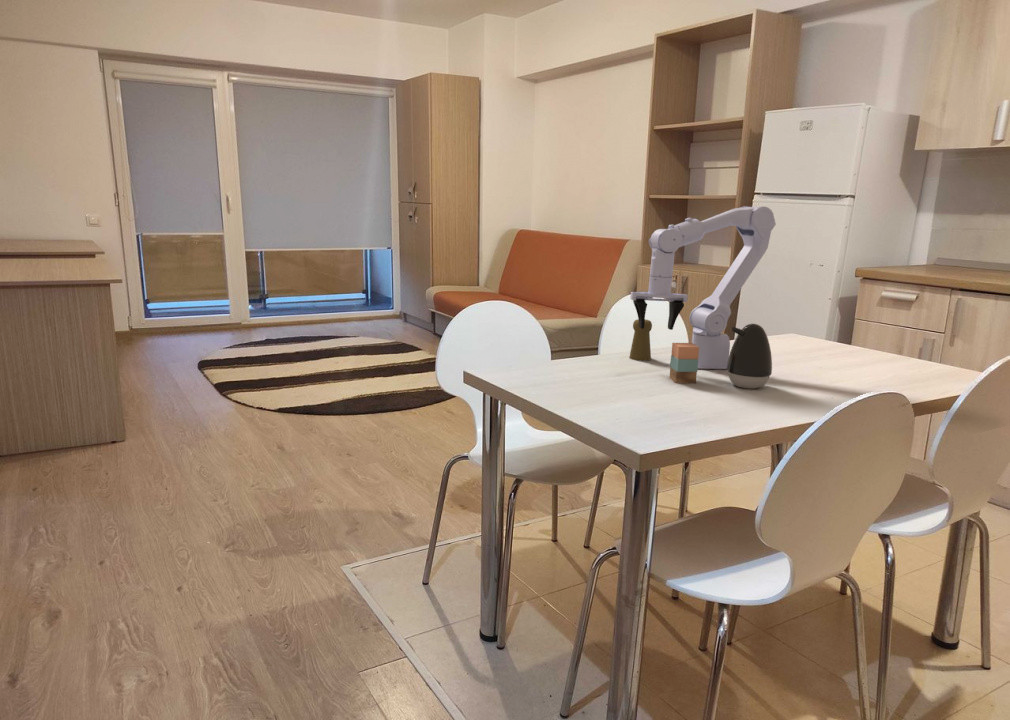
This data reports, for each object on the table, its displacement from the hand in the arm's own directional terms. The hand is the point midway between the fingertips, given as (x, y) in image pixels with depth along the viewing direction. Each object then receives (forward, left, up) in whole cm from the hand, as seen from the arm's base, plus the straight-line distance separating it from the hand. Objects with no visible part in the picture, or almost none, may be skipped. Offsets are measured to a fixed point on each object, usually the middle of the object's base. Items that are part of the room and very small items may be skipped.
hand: (655, 328), depth 181 cm
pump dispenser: (-18, +19, -11) cm, 28 cm away
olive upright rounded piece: (0, -11, -11) cm, 15 cm away
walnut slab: (-3, +14, -11) cm, 18 cm away
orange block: (-4, +14, -5) cm, 15 cm away
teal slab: (-3, +14, -8) cm, 16 cm away
